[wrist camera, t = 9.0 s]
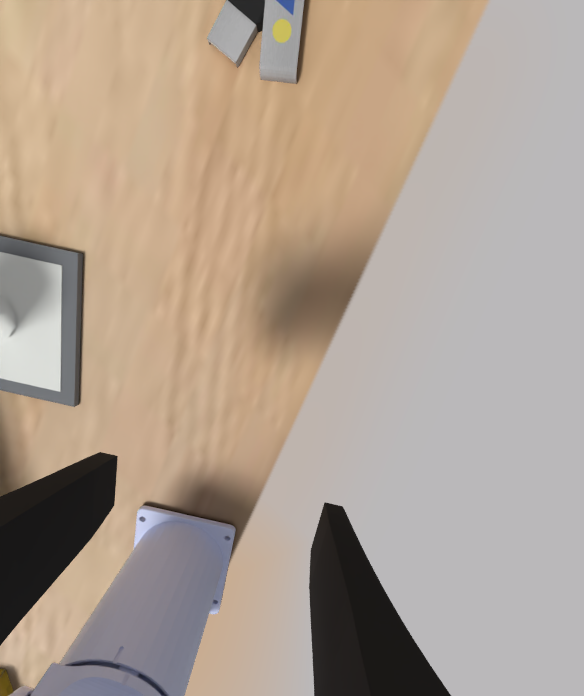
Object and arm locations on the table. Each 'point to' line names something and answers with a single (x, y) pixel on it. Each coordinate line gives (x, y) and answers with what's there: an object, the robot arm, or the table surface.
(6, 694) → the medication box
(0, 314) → the milkshake
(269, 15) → the usb flash drive
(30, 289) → the mat
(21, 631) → the table surface
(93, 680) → the robot arm
